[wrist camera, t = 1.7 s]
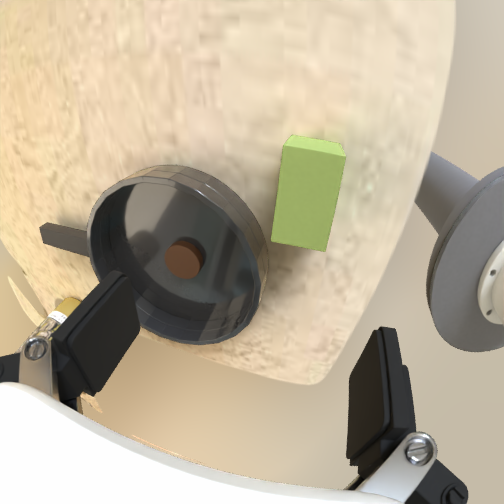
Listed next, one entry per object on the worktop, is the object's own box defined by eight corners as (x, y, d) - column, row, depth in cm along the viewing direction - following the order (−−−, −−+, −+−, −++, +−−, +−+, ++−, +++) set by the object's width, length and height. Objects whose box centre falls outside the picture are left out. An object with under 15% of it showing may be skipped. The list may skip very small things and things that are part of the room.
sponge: (340, 143, 21) (346, 156, 17) (325, 221, 25) (325, 252, 20) (291, 134, 22) (283, 144, 17) (280, 212, 26) (270, 241, 21)
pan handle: (100, 234, 30) (92, 241, 29) (103, 252, 31) (95, 259, 30) (47, 222, 31) (39, 227, 30) (50, 237, 33) (43, 243, 31)
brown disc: (203, 244, 28) (199, 249, 28) (203, 277, 31) (199, 282, 30) (167, 237, 29) (162, 242, 28) (169, 269, 31) (165, 274, 30)
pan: (280, 178, 24) (273, 193, 21) (257, 336, 34) (250, 361, 31) (99, 159, 27) (74, 170, 23) (121, 299, 37) (105, 317, 33)
